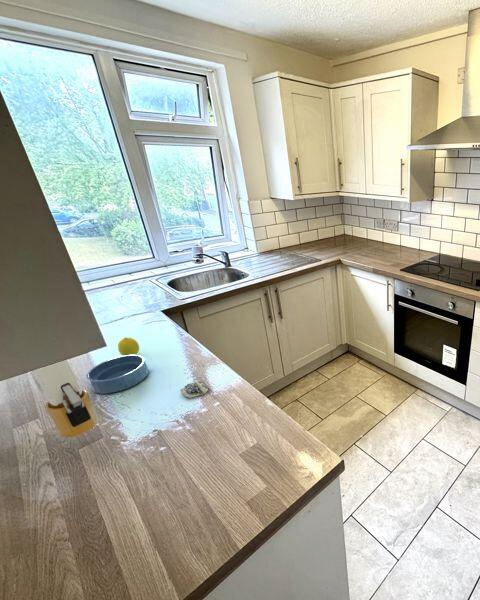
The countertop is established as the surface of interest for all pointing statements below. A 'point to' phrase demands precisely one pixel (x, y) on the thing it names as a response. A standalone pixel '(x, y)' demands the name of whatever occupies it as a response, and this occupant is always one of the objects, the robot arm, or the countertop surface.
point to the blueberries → (194, 389)
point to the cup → (63, 422)
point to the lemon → (128, 346)
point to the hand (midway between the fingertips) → (74, 415)
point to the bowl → (117, 374)
